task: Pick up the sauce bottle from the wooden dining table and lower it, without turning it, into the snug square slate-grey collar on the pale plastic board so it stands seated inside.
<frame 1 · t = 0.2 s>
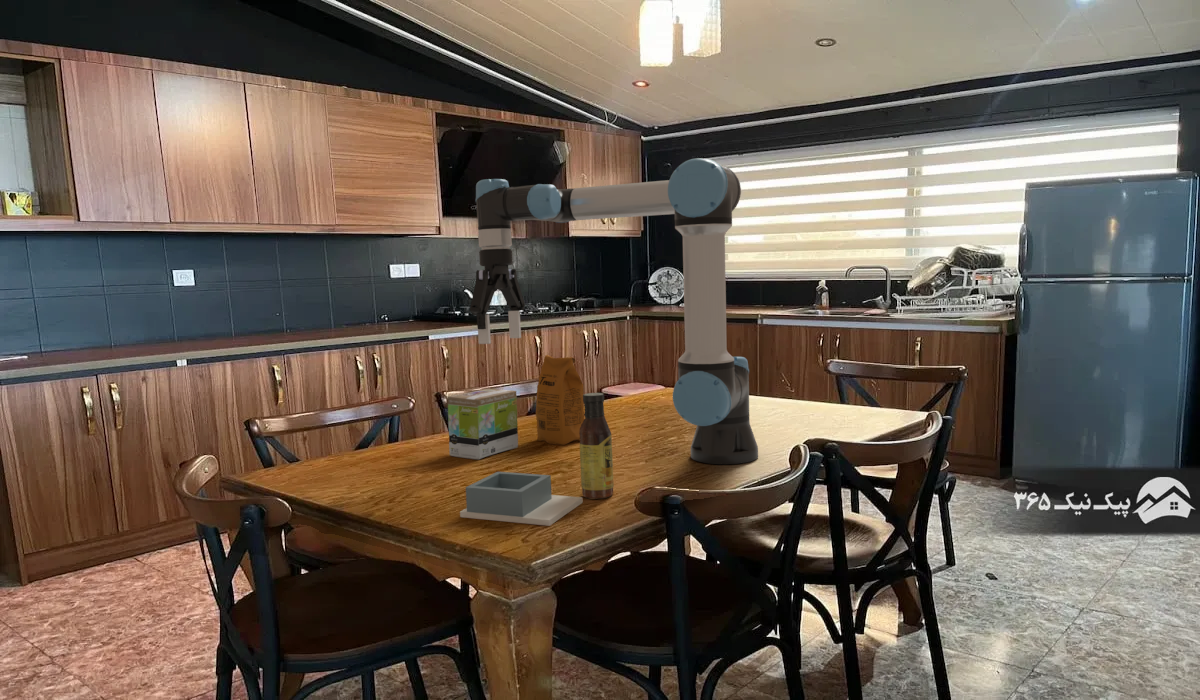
hand: (500, 340, 184), 28 cm above the table, fingers open, 13 cm apart
bottle dock: (522, 509, 146), on the table
sauce bottle: (597, 496, 153), on the table
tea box: (485, 452, 195), on the table
coffee package: (560, 441, 205), on the table
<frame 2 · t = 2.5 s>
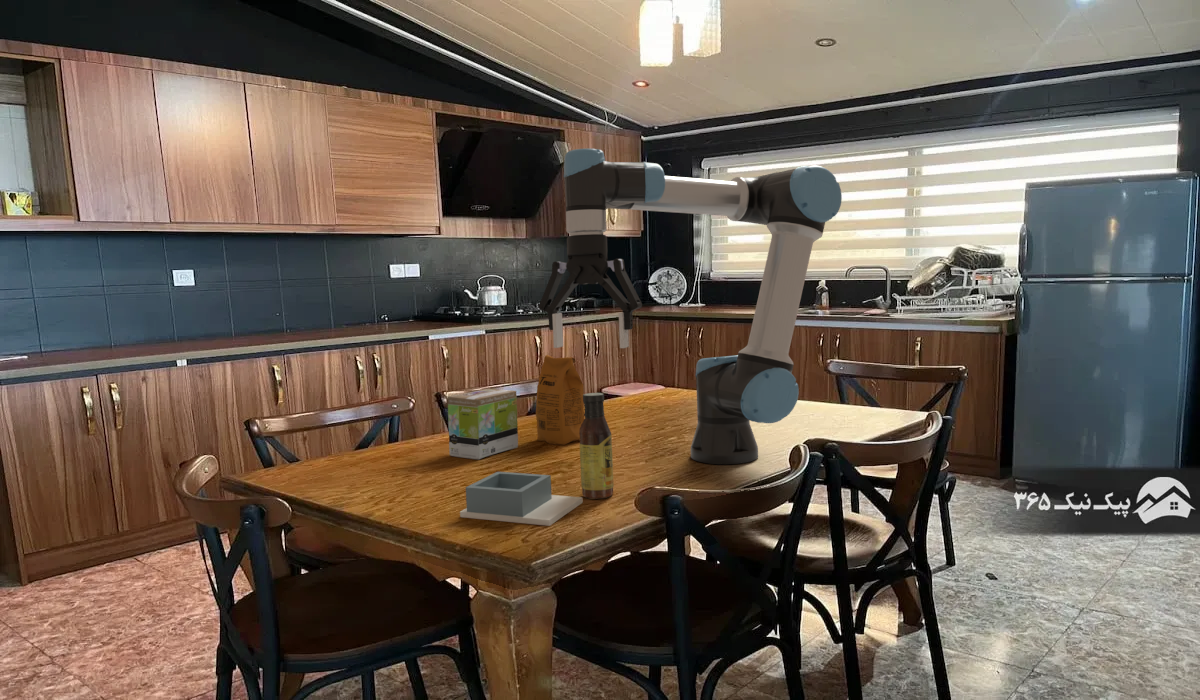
hand: (590, 347, 150), 29 cm above the table, fingers open, 13 cm apart
nothing on the table moved.
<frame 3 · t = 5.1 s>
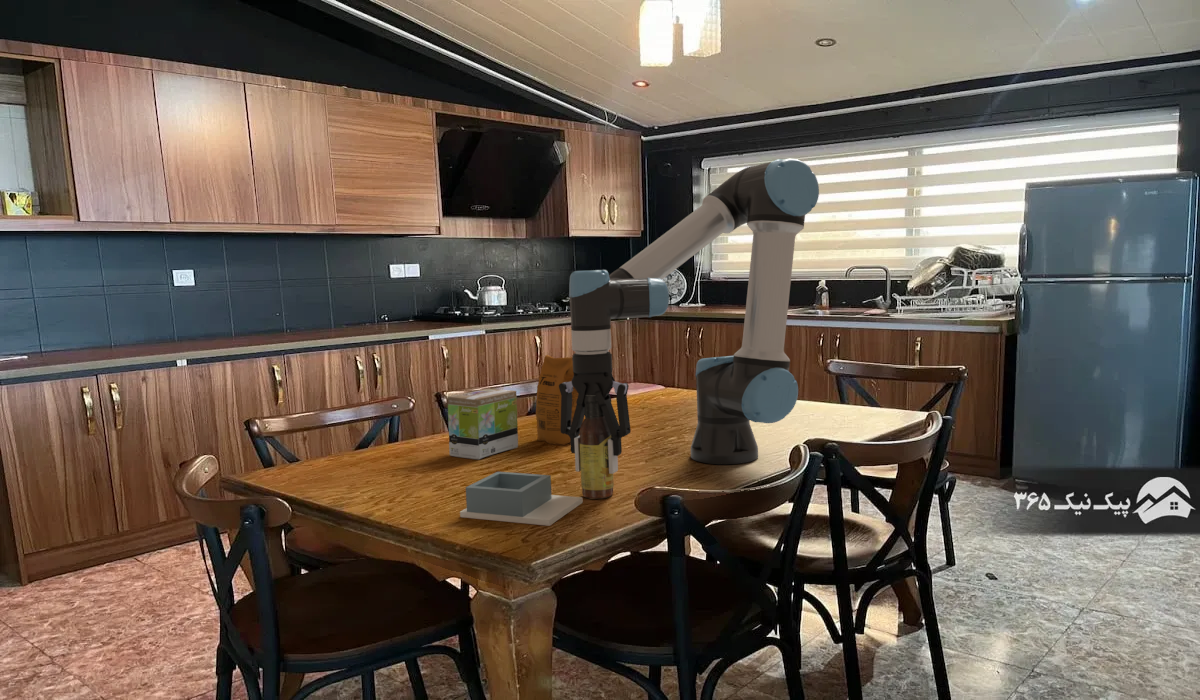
hand: (596, 470, 153), 5 cm above the table, fingers closed on sauce bottle, 6 cm apart
sauce bottle: (597, 496, 153), on the table, touching gripper
everything else where it was.
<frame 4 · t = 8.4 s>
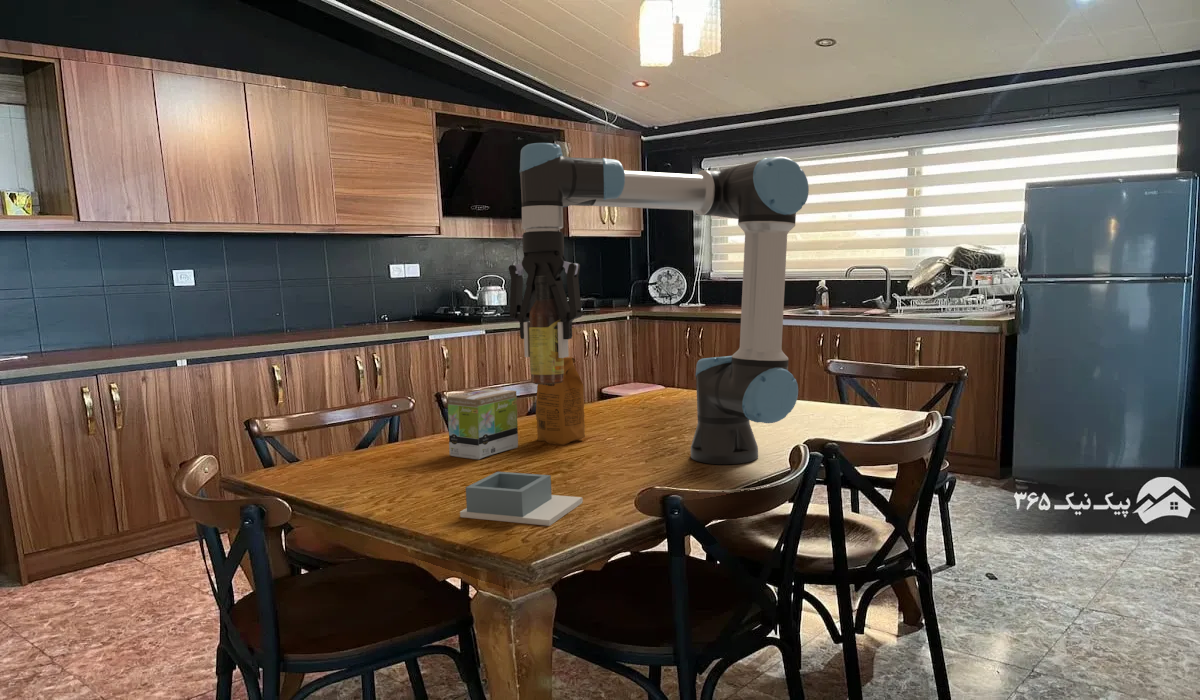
hand: (546, 356, 147), 28 cm above the table, fingers closed on sauce bottle, 6 cm apart
sauce bottle: (547, 384, 147), point 23 cm above the table, touching gripper
everything else where it was.
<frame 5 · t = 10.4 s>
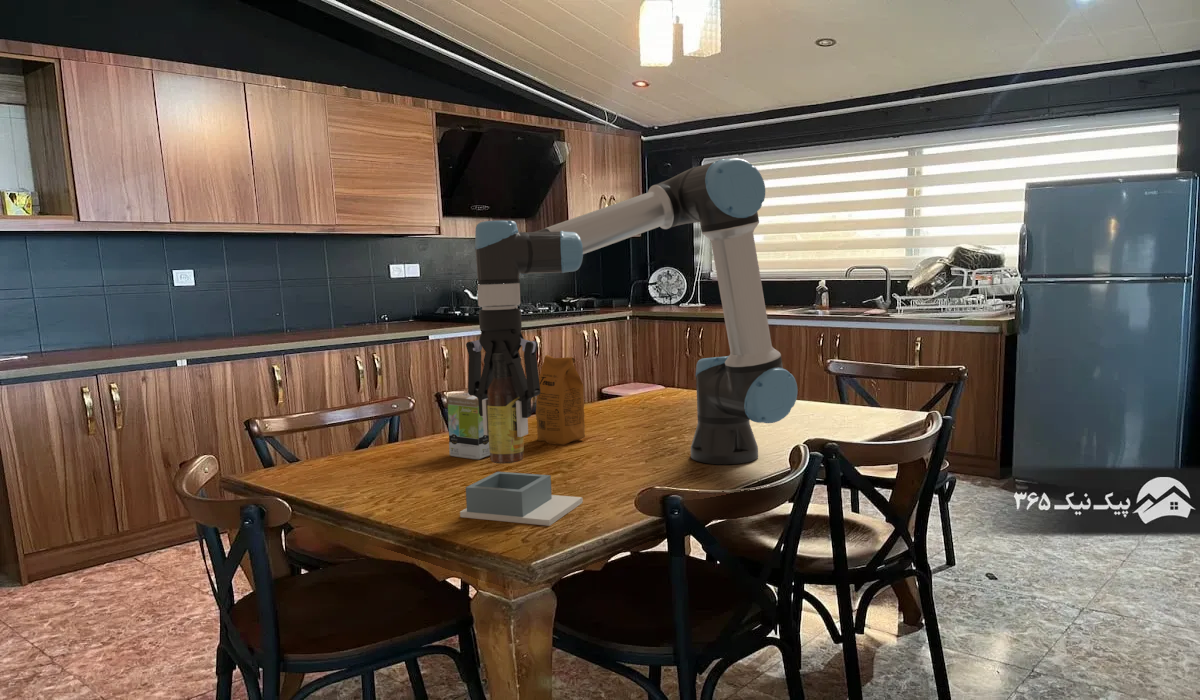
hand: (506, 434, 145), 14 cm above the table, fingers closed on sauce bottle, 6 cm apart
sauce bottle: (507, 461, 145), point 9 cm above the table, touching gripper
everything else where it was.
when the fingers open (9 cm above the table, at t = 11.9 s): sauce bottle drops 3 cm, resting on bottle dock.
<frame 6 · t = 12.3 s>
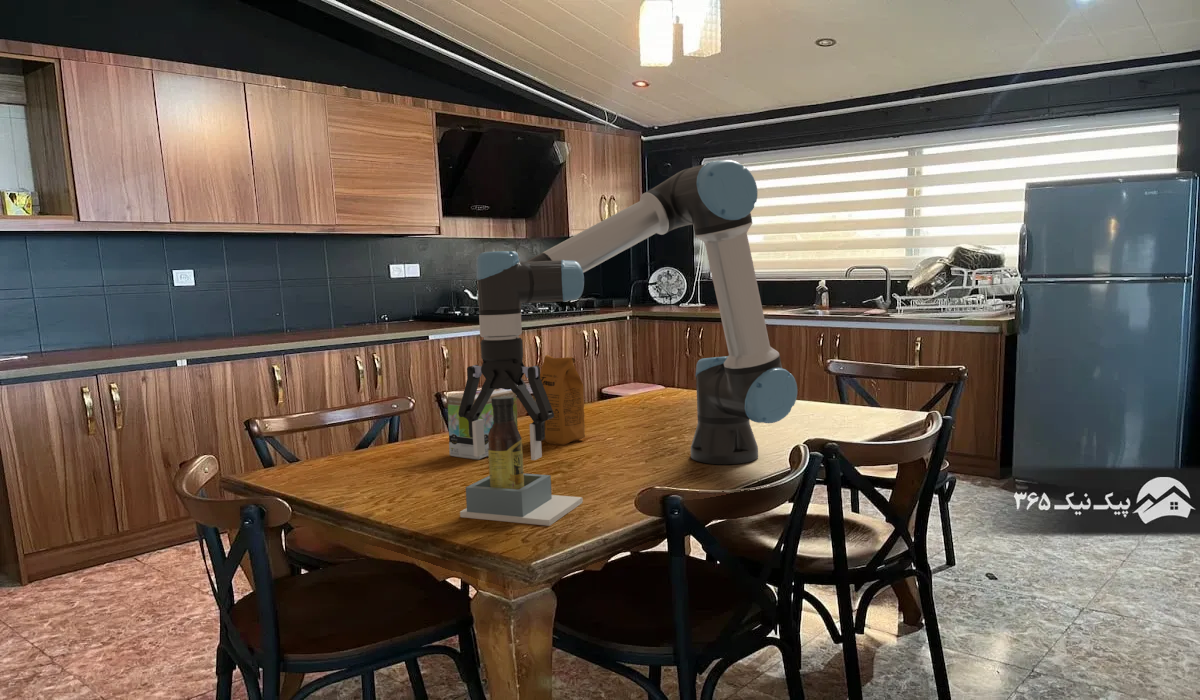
hand: (507, 456, 145), 10 cm above the table, fingers open, 11 cm apart
sauce bottle: (508, 505, 146), point 1 cm above the table, touching bottle dock
everything else where it was.
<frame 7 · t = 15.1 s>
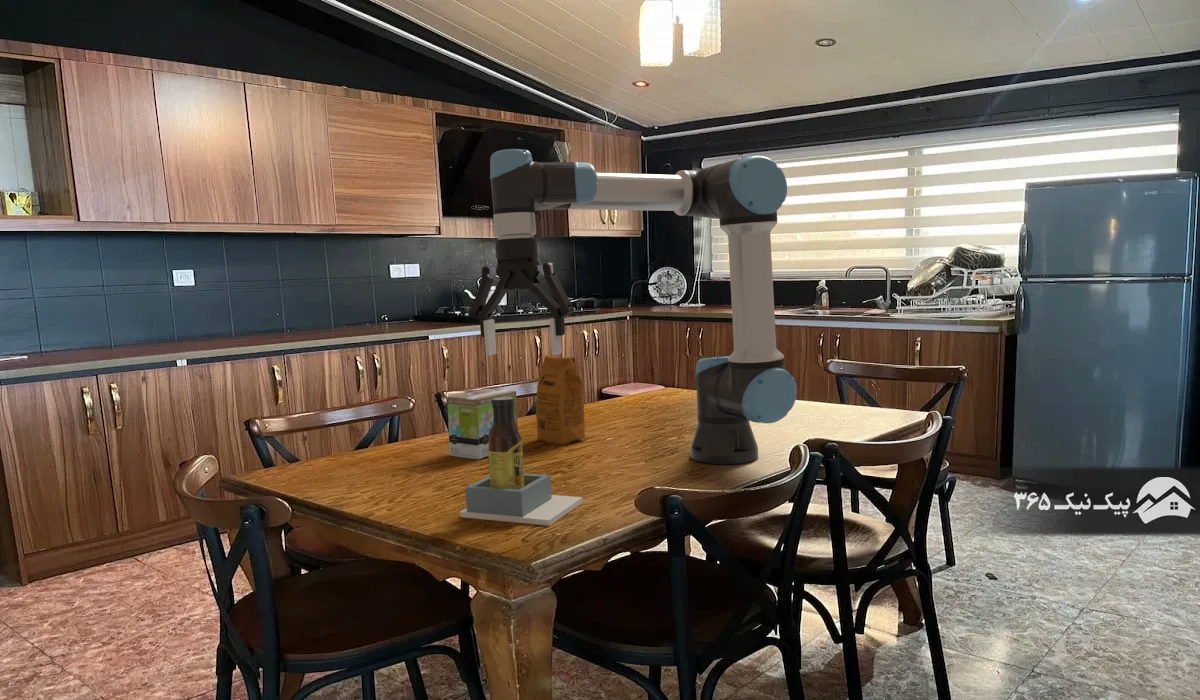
hand: (523, 354, 146), 28 cm above the table, fingers open, 13 cm apart
nothing on the table moved.
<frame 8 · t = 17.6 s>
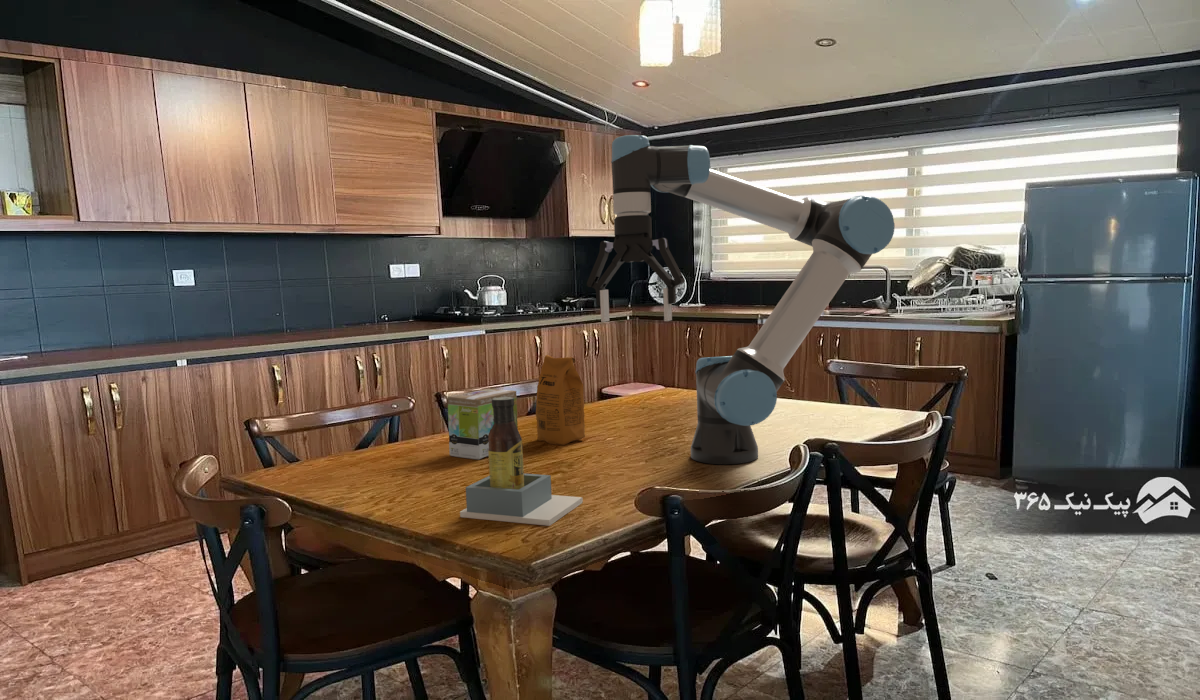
hand: (636, 321, 161), 33 cm above the table, fingers open, 13 cm apart
nothing on the table moved.
at the end: sauce bottle 0.4 cm from the target spot on the bottle dock, point 0.8 cm above the bottle dock's base; sauce bottle tilted 0°; the gripper is holding nothing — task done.
